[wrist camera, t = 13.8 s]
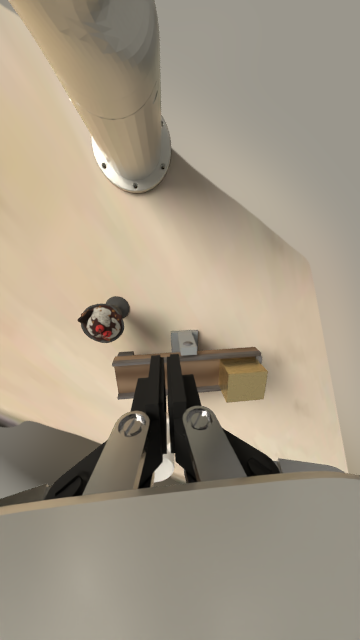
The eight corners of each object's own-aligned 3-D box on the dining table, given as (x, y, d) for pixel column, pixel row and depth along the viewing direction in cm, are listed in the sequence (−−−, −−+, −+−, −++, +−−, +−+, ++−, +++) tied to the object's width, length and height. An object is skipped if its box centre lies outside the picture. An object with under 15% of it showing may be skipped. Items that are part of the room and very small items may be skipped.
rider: (219, 359, 36) (228, 374, 31) (254, 356, 37) (267, 371, 32) (218, 384, 38) (226, 402, 33) (251, 381, 39) (263, 399, 34)
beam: (118, 349, 38) (111, 365, 33) (248, 340, 41) (262, 354, 35) (123, 381, 41) (117, 401, 35) (245, 371, 43) (257, 389, 38)
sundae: (138, 317, 40) (124, 349, 26) (109, 326, 40) (79, 363, 26) (126, 288, 38) (105, 306, 24) (95, 297, 38) (55, 321, 24)
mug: (190, 415, 50) (197, 461, 39) (155, 437, 52) (153, 488, 40) (171, 396, 48) (174, 440, 36) (136, 420, 49) (127, 469, 38)
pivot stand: (170, 330, 42) (172, 347, 34) (197, 329, 42) (204, 345, 34) (172, 376, 46) (174, 402, 38) (196, 375, 46) (203, 400, 38)
